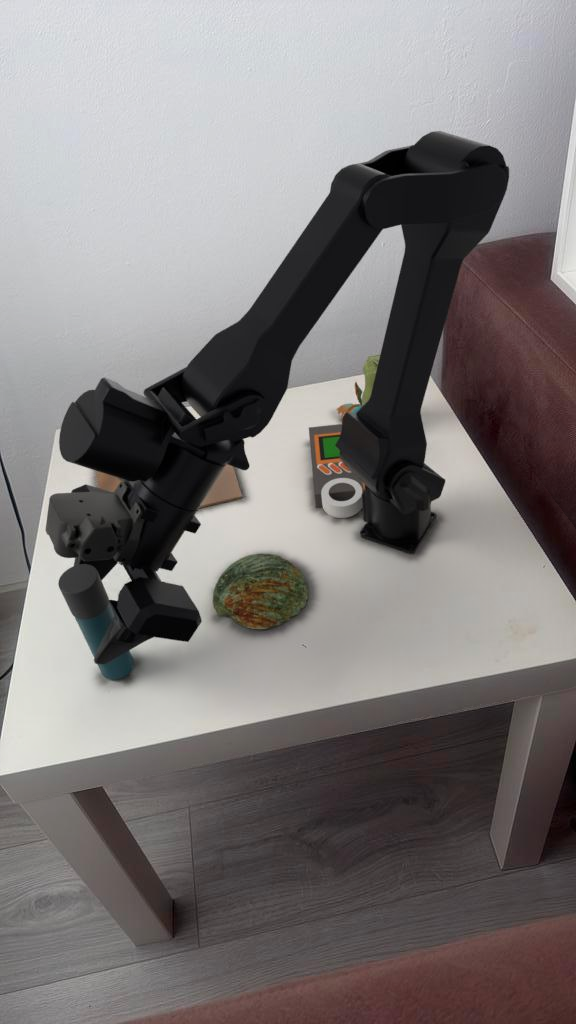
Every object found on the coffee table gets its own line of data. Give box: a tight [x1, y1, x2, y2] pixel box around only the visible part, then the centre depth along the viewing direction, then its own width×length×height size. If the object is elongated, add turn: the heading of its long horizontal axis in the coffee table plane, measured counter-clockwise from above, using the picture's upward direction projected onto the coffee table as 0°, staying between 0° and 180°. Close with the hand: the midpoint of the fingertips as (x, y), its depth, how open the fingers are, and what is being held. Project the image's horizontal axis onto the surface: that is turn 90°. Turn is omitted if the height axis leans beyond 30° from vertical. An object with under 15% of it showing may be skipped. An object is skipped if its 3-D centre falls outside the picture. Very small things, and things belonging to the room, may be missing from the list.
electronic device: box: [308, 423, 365, 519], centre depth 88 cm, size 7×3×15 cm
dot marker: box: [57, 564, 135, 682], centre depth 67 cm, size 3×3×13 cm
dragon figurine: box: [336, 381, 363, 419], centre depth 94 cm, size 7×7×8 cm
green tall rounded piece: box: [361, 354, 380, 406], centre depth 92 cm, size 6×5×10 cm
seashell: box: [212, 553, 309, 630], centre depth 75 cm, size 10×4×10 cm
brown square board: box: [96, 464, 243, 509], centre depth 93 cm, size 17×17×1 cm
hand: (84, 632), depth 66 cm, fingers open, 8 cm apart
